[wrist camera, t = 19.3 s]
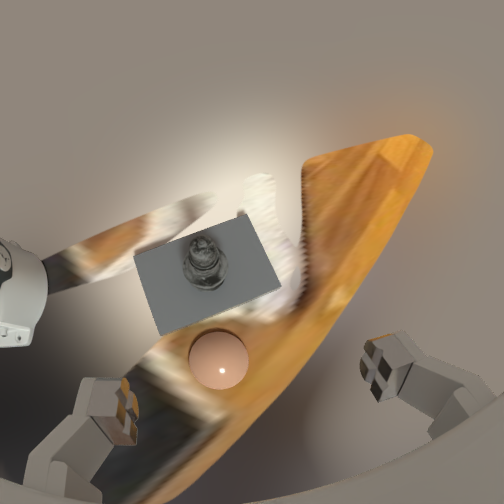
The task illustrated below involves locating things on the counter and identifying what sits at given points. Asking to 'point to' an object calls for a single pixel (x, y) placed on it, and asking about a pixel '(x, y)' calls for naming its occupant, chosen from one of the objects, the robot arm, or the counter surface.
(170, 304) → the slate board
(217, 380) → the peach domed round part
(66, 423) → the robot arm
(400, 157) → the counter surface
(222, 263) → the black rounded upright piece
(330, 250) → the counter surface
